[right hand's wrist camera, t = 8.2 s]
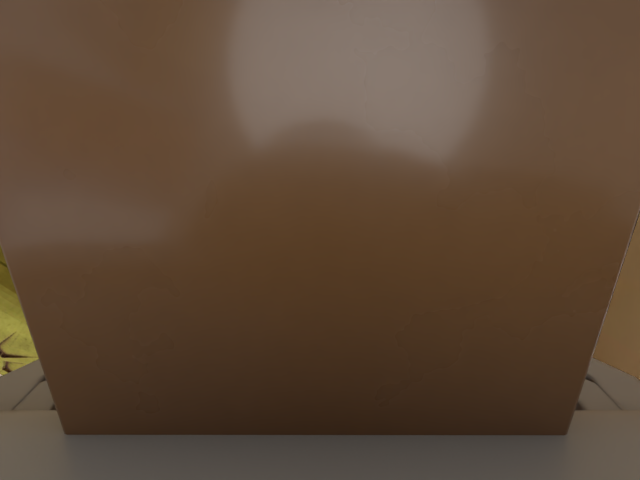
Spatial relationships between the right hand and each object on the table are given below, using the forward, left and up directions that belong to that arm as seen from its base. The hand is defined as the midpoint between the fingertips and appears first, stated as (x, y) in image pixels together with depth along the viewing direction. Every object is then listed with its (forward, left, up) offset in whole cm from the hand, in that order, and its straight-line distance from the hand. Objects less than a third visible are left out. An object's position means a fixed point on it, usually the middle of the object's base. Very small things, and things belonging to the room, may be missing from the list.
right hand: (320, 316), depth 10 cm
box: (+9, 0, -4) cm, 10 cm away
